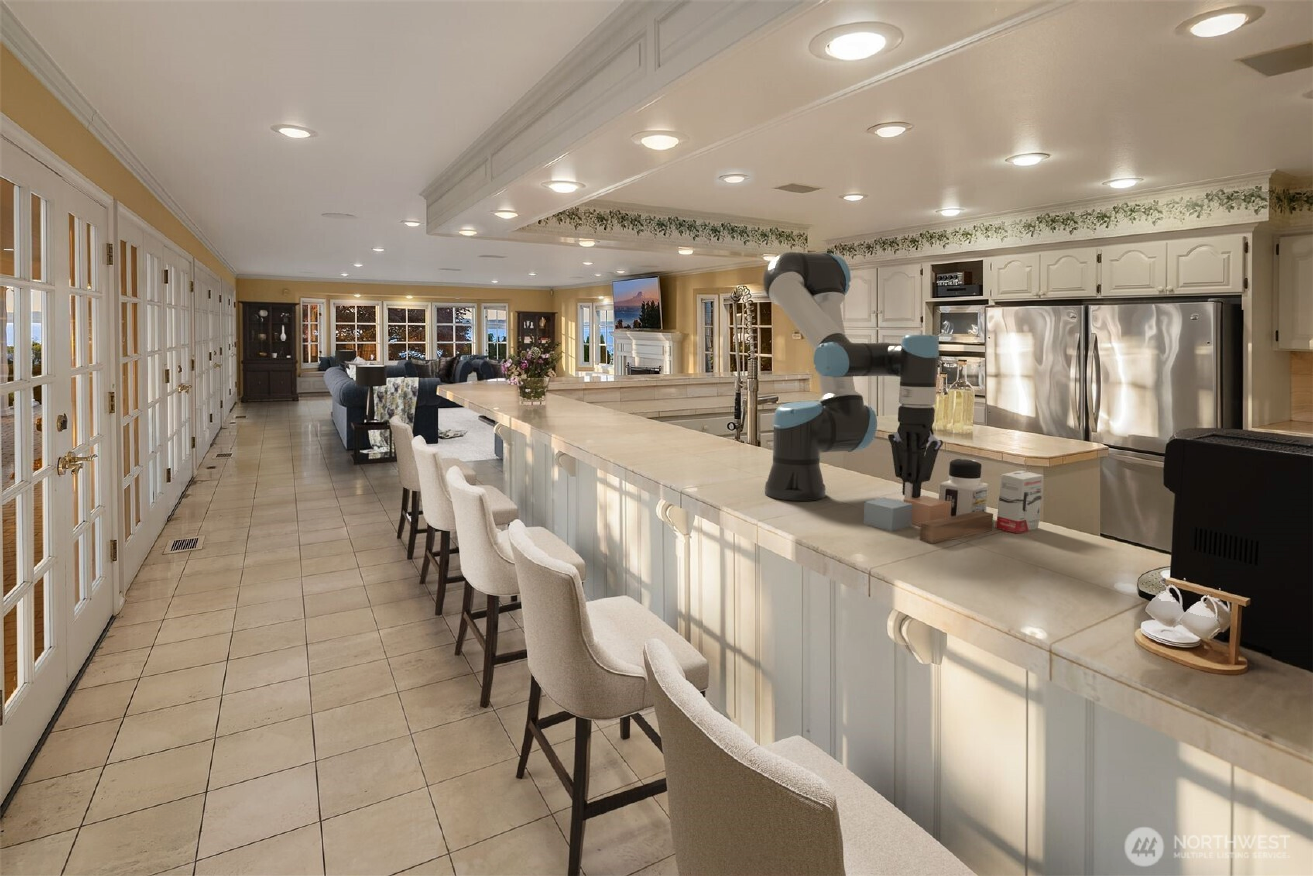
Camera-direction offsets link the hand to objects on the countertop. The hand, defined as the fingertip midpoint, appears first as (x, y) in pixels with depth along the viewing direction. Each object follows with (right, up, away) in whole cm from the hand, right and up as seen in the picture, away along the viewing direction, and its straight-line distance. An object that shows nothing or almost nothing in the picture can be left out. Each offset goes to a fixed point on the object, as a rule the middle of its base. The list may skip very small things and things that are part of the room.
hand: (910, 510), depth 157 cm
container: (+12, -2, +2) cm, 12 cm away
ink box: (+20, -3, -7) cm, 22 cm away
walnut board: (+5, -4, -13) cm, 14 cm away
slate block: (-7, -3, -5) cm, 9 cm away
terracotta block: (+2, -2, -3) cm, 5 cm away
